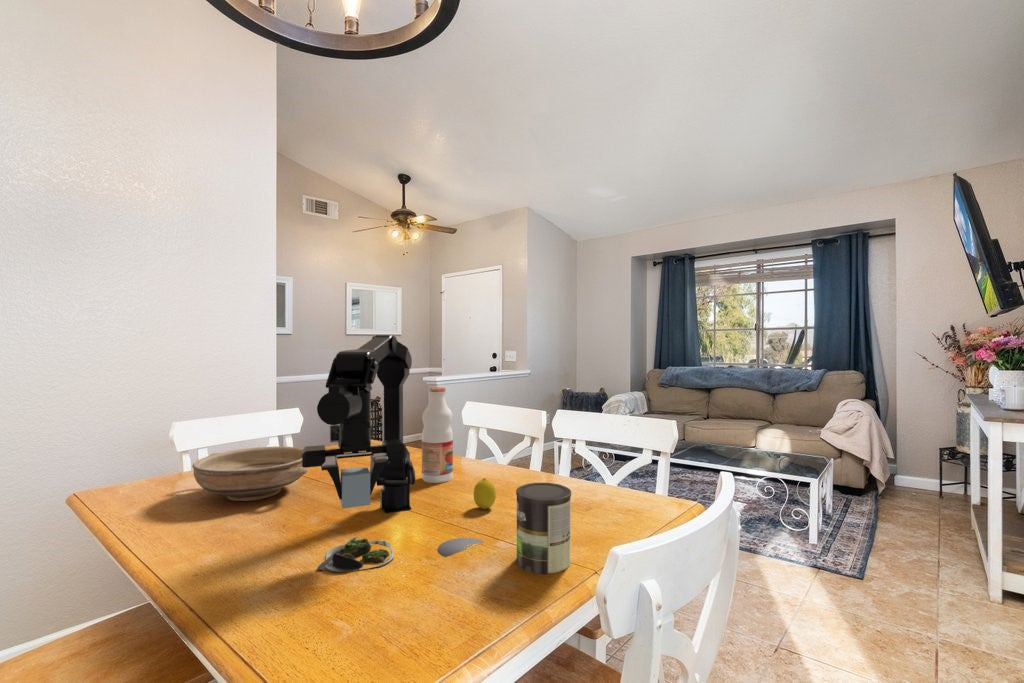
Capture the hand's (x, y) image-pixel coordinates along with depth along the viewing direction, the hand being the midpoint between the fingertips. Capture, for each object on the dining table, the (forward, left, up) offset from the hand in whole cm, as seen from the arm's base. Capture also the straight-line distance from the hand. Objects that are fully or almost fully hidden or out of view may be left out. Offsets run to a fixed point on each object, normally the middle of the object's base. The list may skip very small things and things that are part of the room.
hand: (355, 497), depth 92 cm
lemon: (-32, -15, -12) cm, 37 cm away
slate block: (0, 0, -1) cm, 1 cm away
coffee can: (-32, +17, -12) cm, 38 cm away
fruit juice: (-28, -46, -12) cm, 55 cm away
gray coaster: (-20, +5, -12) cm, 24 cm away
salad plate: (0, -1, -12) cm, 13 cm away
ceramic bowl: (+22, -53, -12) cm, 59 cm away
